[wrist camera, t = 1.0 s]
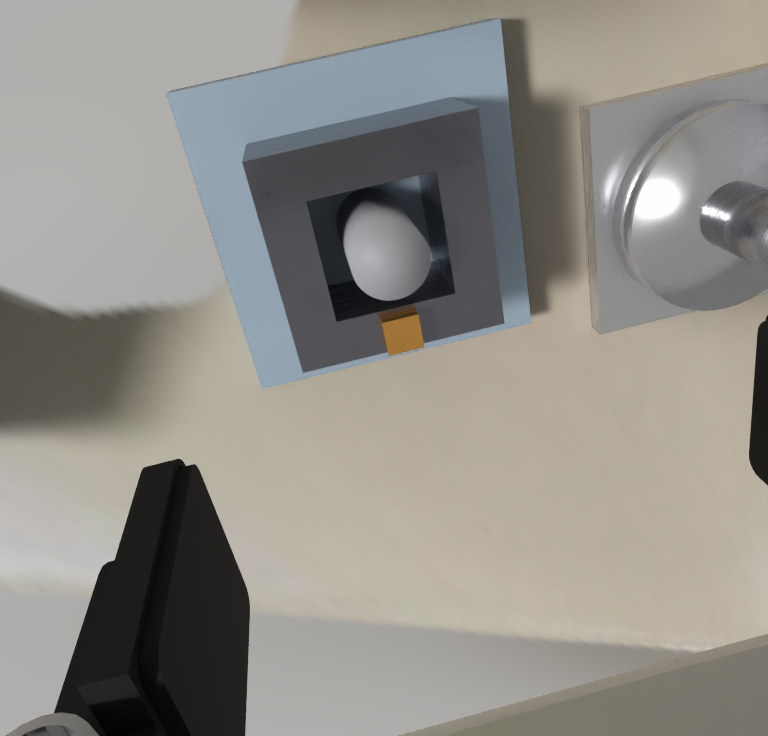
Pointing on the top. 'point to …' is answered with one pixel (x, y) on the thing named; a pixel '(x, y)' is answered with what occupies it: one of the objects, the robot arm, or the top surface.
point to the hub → (677, 199)
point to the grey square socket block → (364, 169)
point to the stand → (358, 207)
